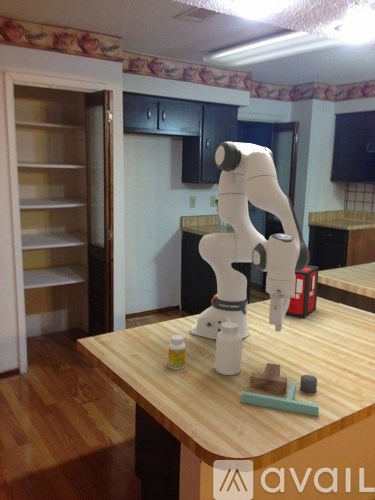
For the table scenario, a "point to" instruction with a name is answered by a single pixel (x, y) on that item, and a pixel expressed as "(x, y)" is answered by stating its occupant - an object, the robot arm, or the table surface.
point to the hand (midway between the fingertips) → (278, 330)
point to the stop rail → (281, 402)
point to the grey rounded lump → (308, 384)
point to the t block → (269, 380)
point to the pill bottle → (228, 349)
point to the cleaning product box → (304, 293)
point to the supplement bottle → (176, 352)
